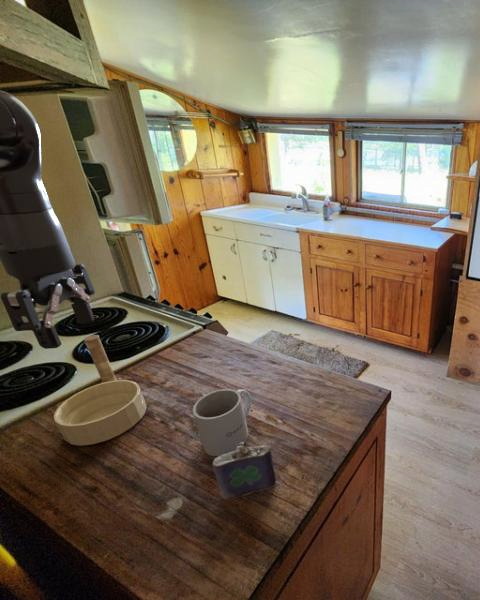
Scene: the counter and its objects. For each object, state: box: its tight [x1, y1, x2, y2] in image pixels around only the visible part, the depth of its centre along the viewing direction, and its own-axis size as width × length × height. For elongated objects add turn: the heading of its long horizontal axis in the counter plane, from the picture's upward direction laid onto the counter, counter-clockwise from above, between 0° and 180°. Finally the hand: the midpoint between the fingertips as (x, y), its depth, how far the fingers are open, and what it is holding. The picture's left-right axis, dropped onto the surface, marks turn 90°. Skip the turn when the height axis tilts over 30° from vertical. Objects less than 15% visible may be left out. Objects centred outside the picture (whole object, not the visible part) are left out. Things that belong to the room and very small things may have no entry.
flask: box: [212, 442, 277, 501], centre depth 58 cm, size 9×3×11 cm, turn 110°
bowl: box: [53, 379, 147, 447], centre depth 71 cm, size 14×14×6 cm
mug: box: [192, 388, 252, 457], centre depth 69 cm, size 12×9×10 cm
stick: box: [83, 334, 122, 384], centre depth 80 cm, size 4×4×15 cm
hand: (70, 333), depth 55 cm, fingers open, 8 cm apart
